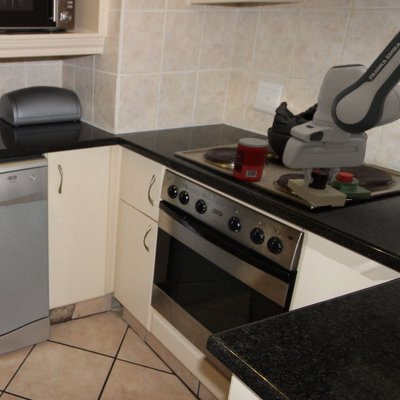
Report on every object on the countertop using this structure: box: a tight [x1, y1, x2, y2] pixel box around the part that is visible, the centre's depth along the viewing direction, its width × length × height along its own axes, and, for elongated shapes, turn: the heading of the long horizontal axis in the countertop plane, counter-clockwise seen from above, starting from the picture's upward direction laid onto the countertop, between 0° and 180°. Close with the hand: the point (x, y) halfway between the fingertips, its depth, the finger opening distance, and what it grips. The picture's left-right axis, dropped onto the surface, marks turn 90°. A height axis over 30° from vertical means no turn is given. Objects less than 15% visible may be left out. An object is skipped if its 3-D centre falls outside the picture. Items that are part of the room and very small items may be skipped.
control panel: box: [286, 178, 347, 207], centre depth 125 cm, size 12×8×3 cm
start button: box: [336, 171, 354, 182], centre depth 127 cm, size 4×4×2 cm
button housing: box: [327, 175, 372, 201], centre depth 128 cm, size 11×8×4 cm
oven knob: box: [308, 169, 329, 190], centre depth 123 cm, size 4×4×4 cm
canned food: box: [232, 137, 269, 183], centre depth 137 cm, size 8×8×11 cm
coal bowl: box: [266, 101, 318, 160], centre depth 149 cm, size 20×20×19 cm
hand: (317, 182), depth 124 cm, fingers closed on oven knob, 4 cm apart
